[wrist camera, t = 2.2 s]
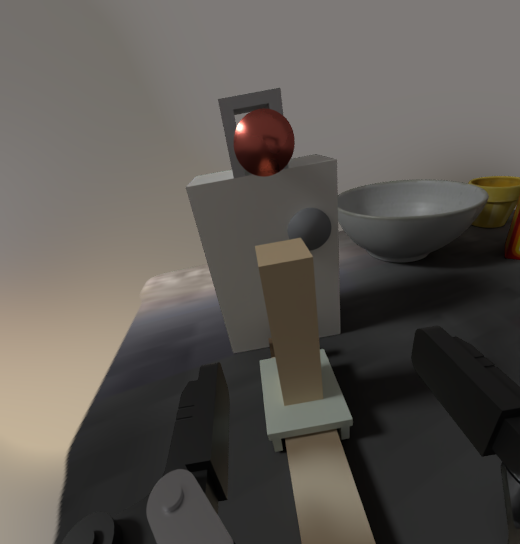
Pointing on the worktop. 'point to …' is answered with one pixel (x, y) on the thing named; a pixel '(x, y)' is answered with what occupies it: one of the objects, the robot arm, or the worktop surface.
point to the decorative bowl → (408, 216)
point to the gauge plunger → (264, 142)
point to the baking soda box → (514, 236)
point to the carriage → (296, 349)
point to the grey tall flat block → (266, 228)
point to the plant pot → (497, 199)
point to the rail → (325, 490)
